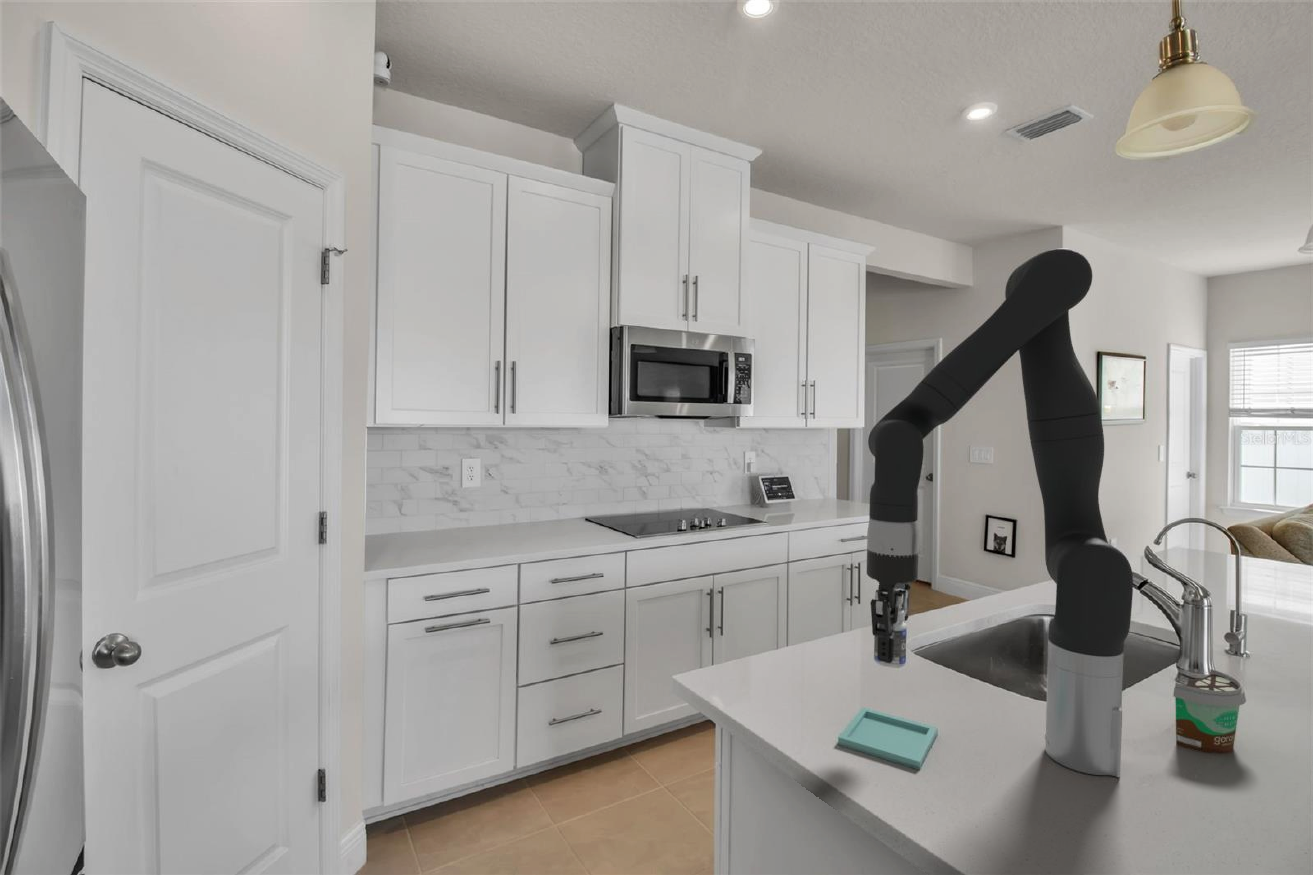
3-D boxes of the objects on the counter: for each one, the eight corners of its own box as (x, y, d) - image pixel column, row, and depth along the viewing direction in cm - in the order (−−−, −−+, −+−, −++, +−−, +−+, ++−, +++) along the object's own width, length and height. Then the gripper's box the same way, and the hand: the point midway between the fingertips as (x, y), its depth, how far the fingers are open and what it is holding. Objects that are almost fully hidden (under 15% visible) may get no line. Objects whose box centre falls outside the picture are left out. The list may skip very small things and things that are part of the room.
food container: (1221, 766, 92) (1223, 699, 92) (1171, 746, 98) (1173, 683, 97) (1258, 746, 98) (1261, 682, 97) (1209, 728, 103) (1212, 668, 103)
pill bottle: (908, 669, 96) (909, 615, 96) (876, 667, 97) (877, 613, 97) (902, 657, 101) (904, 605, 101) (871, 655, 102) (872, 604, 102)
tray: (937, 735, 101) (937, 727, 101) (919, 770, 91) (920, 761, 91) (862, 714, 108) (862, 707, 108) (838, 744, 98) (838, 737, 98)
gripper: (905, 560, 90) (903, 677, 91) (928, 543, 102) (926, 646, 103) (853, 553, 95) (851, 665, 95) (881, 537, 106) (879, 637, 107)
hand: (890, 655), depth 99 cm, fingers closed on pill bottle, 4 cm apart
